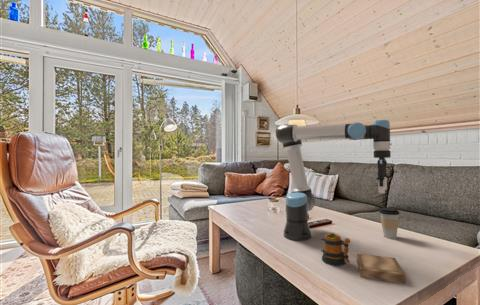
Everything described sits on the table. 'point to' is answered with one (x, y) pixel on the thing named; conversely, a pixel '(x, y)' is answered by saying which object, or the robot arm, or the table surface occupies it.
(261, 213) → the table surface
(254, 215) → the table surface
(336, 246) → the mug
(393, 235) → the coffee cup
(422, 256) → the table surface
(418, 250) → the table surface
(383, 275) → the base
